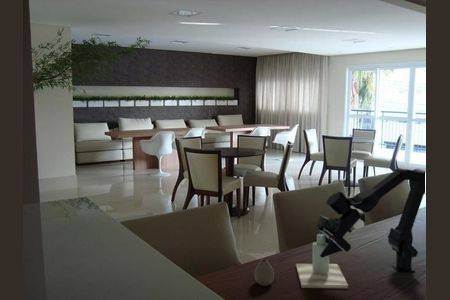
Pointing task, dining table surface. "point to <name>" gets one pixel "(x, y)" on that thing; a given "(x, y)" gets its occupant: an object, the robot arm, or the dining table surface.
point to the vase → (264, 273)
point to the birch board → (321, 277)
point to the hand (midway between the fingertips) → (317, 253)
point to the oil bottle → (318, 262)
